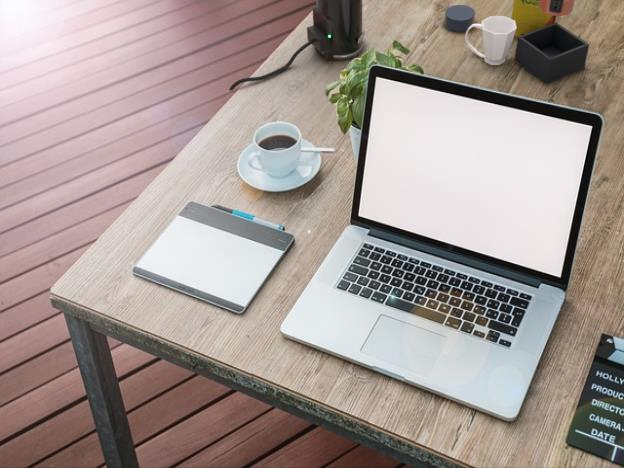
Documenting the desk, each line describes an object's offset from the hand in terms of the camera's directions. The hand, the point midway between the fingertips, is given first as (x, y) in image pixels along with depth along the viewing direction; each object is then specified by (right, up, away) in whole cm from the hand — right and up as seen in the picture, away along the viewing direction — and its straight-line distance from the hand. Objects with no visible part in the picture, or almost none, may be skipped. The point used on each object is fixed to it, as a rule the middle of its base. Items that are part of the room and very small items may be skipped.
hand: (557, 1), depth 156 cm
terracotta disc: (0, -1, +1) cm, 1 cm away
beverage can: (+1, 0, +21) cm, 21 cm away
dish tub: (+2, -9, +13) cm, 16 cm away
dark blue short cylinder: (-14, +2, +24) cm, 28 cm away
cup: (-10, -7, +15) cm, 20 cm away
